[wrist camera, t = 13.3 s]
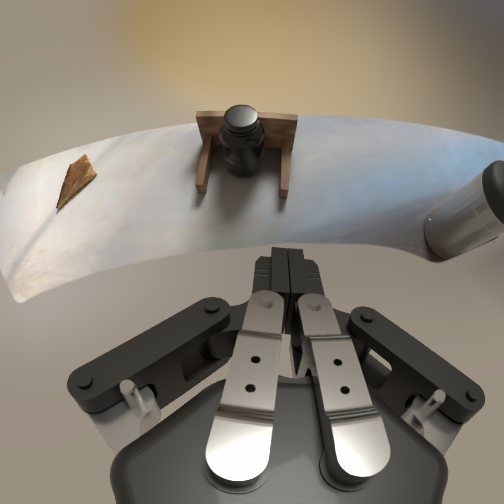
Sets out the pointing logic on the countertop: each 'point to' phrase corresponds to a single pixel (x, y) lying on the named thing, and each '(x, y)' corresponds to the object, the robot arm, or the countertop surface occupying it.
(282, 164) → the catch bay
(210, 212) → the countertop surface
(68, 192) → the shard
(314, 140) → the countertop surface
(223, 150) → the supplement bottle
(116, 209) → the countertop surface
